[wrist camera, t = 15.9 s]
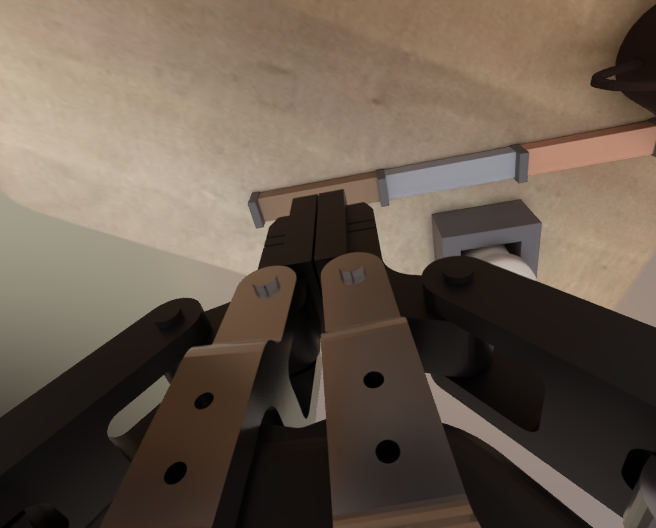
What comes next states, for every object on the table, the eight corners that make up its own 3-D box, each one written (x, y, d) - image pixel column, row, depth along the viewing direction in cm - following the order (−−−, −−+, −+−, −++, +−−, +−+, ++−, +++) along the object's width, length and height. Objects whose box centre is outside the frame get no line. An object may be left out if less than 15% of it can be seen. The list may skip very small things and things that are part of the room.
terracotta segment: (510, 145, 29) (520, 154, 28) (657, 118, 28) (677, 125, 26) (509, 173, 31) (518, 183, 29) (650, 148, 29) (669, 157, 28)
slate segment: (375, 170, 31) (377, 179, 29) (510, 145, 29) (520, 154, 28) (379, 196, 32) (381, 206, 30) (509, 173, 31) (518, 183, 29)
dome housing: (431, 214, 33) (442, 238, 29) (520, 199, 32) (541, 222, 28) (436, 282, 36) (446, 310, 33) (516, 270, 36) (534, 298, 32)
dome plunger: (447, 227, 33) (467, 268, 28) (508, 217, 32) (539, 257, 27) (450, 274, 35) (467, 319, 30) (506, 266, 35) (534, 311, 30)
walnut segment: (252, 193, 32) (247, 203, 30) (375, 170, 31) (377, 179, 29) (260, 217, 33) (256, 228, 32) (379, 196, 32) (381, 206, 30)
